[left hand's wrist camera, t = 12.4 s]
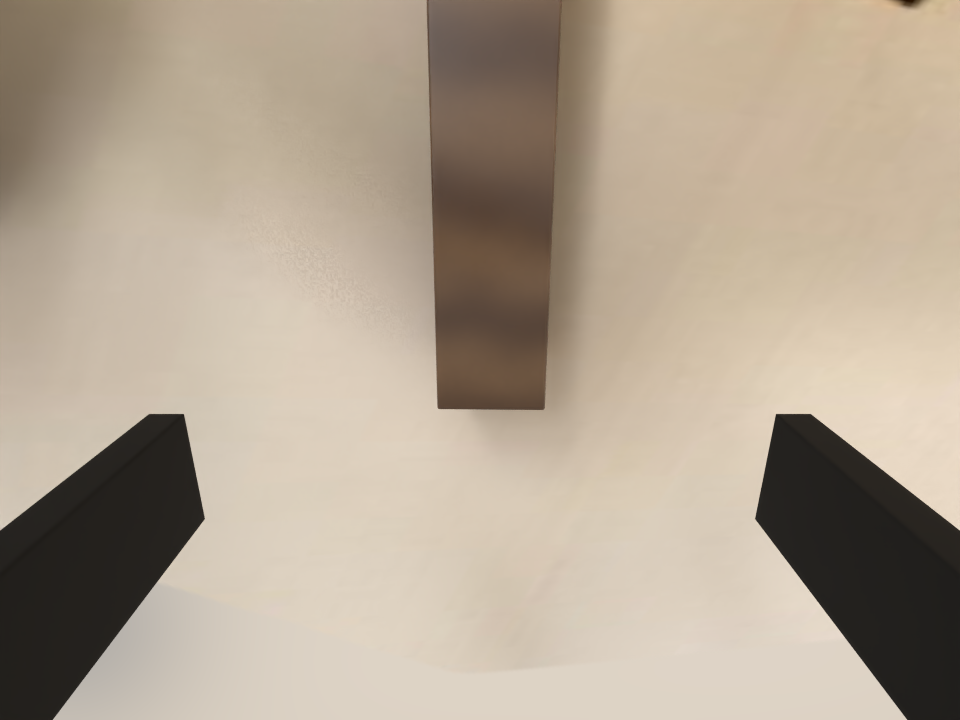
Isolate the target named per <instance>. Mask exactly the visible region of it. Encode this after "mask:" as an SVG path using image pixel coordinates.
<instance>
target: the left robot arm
mask: <svg viewBox="0 0 960 720" xmlns="http://www.w3.org/2000/svg"><path fill="white" fill-rule="evenodd" d="M204 519H205V518H204V513H203V508H202V503H201V497H200V492H199V487H198V482H197V477H196V472H195V467H194V462H193V457H192V452H191V447H190V442H189V437H188V432H187V427H186V422H185V417H184V414H149V415H148V416H146V417H145V418H144V419H142V420H141V421H140V422H139V423H137V424H136V425H135V426H133V427H132V428H131V429H130V430H128V431H127V432H126V433H125V434H123V435H122V436H121V437H119V438H118V439H117V440H116V441H114V442H113V443H112V444H110V445H109V446H108V447H107V448H105V449H104V450H103V451H101V452H100V453H99V454H98V455H96V456H95V457H94V458H93V459H91V460H90V461H89V462H87V463H86V464H85V465H84V466H82V467H81V468H80V469H78V470H77V471H76V472H75V473H73V474H72V475H71V476H70V477H68V478H67V479H66V480H64V481H63V482H62V483H61V484H59V485H58V486H57V487H55V488H54V489H53V490H52V491H50V492H49V493H48V494H46V495H45V496H44V497H43V498H41V499H40V500H39V501H38V502H36V503H35V504H34V505H32V506H31V507H30V508H29V509H27V510H26V511H25V512H23V513H22V514H21V515H20V516H18V517H17V518H16V519H14V520H13V521H12V522H11V523H9V524H8V525H7V526H6V527H4V528H3V529H2V530H0V720H53V719H54V717H55V716H56V715H57V713H58V712H59V711H60V709H61V708H62V707H63V705H64V704H65V703H66V701H67V700H68V699H69V698H70V696H71V695H72V694H73V692H74V691H75V690H76V688H77V687H78V686H79V684H80V683H81V682H82V680H83V679H84V678H85V676H86V675H87V674H88V672H89V671H90V670H91V668H92V667H93V666H94V665H95V663H96V662H97V661H98V659H99V658H100V657H101V655H102V654H103V653H104V651H105V650H106V649H107V647H108V646H109V645H110V643H111V642H112V641H113V639H114V638H115V637H116V635H117V634H118V633H119V631H120V630H121V629H122V628H123V626H124V625H125V624H126V622H127V621H128V620H129V618H130V617H131V616H132V614H133V613H134V612H135V610H136V609H137V608H138V606H139V605H140V604H141V602H142V601H143V600H144V598H145V597H146V596H147V595H148V593H149V592H150V591H151V589H152V588H153V587H154V585H155V584H156V583H157V581H158V580H159V579H160V577H161V576H162V575H163V573H164V572H165V571H166V569H167V568H168V567H169V566H170V564H171V563H172V562H173V560H174V559H175V558H176V556H177V555H178V554H179V552H180V551H181V550H182V548H183V547H184V546H185V544H186V543H187V542H188V540H189V539H190V538H191V536H192V535H193V534H194V533H195V531H196V530H197V529H198V527H199V526H200V525H201V523H202V522H203V521H204ZM755 519H756V521H757V522H758V523H759V525H760V526H761V527H762V529H763V530H764V531H765V533H766V534H767V535H768V536H769V538H770V539H771V540H772V542H773V543H774V544H775V546H776V547H777V548H778V550H779V551H780V552H781V554H782V555H783V556H784V558H785V559H786V560H787V562H788V563H789V564H790V566H791V567H792V568H793V569H794V571H795V572H796V573H797V575H798V576H799V577H800V579H801V580H802V581H803V583H804V584H805V585H806V587H807V588H808V589H809V591H810V592H811V593H812V595H813V596H814V597H815V599H816V600H817V601H818V602H819V604H820V605H821V606H822V608H823V609H824V610H825V612H826V613H827V614H828V616H829V617H830V618H831V620H832V621H833V622H834V624H835V625H836V626H837V628H838V629H839V630H840V632H841V633H842V634H843V635H844V637H845V638H846V639H847V641H848V642H849V643H850V645H851V646H852V647H853V649H854V650H855V651H856V653H857V654H858V655H859V657H860V658H861V659H862V661H863V662H864V663H865V665H866V666H867V667H868V668H869V670H870V671H871V672H872V674H873V675H874V676H875V678H876V679H877V680H878V682H879V683H880V684H881V686H882V687H883V688H884V690H885V691H886V692H887V694H888V695H889V696H890V697H891V699H892V700H893V701H894V703H895V704H896V705H897V707H898V708H899V709H900V711H901V712H902V713H903V715H904V716H905V717H906V719H907V720H960V530H958V529H957V528H956V527H954V526H953V525H952V524H951V523H949V522H948V521H947V520H946V519H944V518H943V517H942V516H940V515H939V514H938V513H937V512H935V511H934V510H933V509H931V508H930V507H929V506H928V505H926V504H925V503H924V502H922V501H921V500H920V499H919V498H917V497H916V496H915V495H914V494H912V493H911V492H910V491H908V490H907V489H906V488H905V487H903V486H902V485H901V484H899V483H898V482H897V481H896V480H894V479H893V478H892V477H890V476H889V475H888V474H887V473H885V472H884V471H883V470H882V469H880V468H879V467H878V466H876V465H875V464H874V463H873V462H871V461H870V460H869V459H867V458H866V457H865V456H864V455H862V454H861V453H860V452H859V451H857V450H856V449H855V448H853V447H852V446H851V445H850V444H848V443H847V442H846V441H844V440H843V439H842V438H841V437H839V436H838V435H837V434H835V433H834V432H833V431H832V430H830V429H829V428H828V427H827V426H825V425H824V424H823V423H821V422H820V421H819V420H818V419H816V418H815V417H814V416H812V415H811V414H776V417H775V422H774V427H773V432H772V437H771V442H770V447H769V452H768V457H767V462H766V467H765V472H764V477H763V482H762V487H761V492H760V497H759V502H758V508H757V513H756V518H755Z"/></svg>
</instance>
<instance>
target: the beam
mask: <svg viewBox="0 0 960 720" xmlns="http://www.w3.org/2000/svg"><path fill="white" fill-rule="evenodd" d="M561 6H562V0H427V28H428V65H429V103H430V141H431V178H432V216H433V254H434V291H435V329H436V367H437V405H438V409H506V410H544V408H545V386H546V363H547V339H548V315H549V291H550V268H551V244H552V220H553V196H554V172H555V149H556V125H557V101H558V77H559V54H560V30H561Z"/></svg>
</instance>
